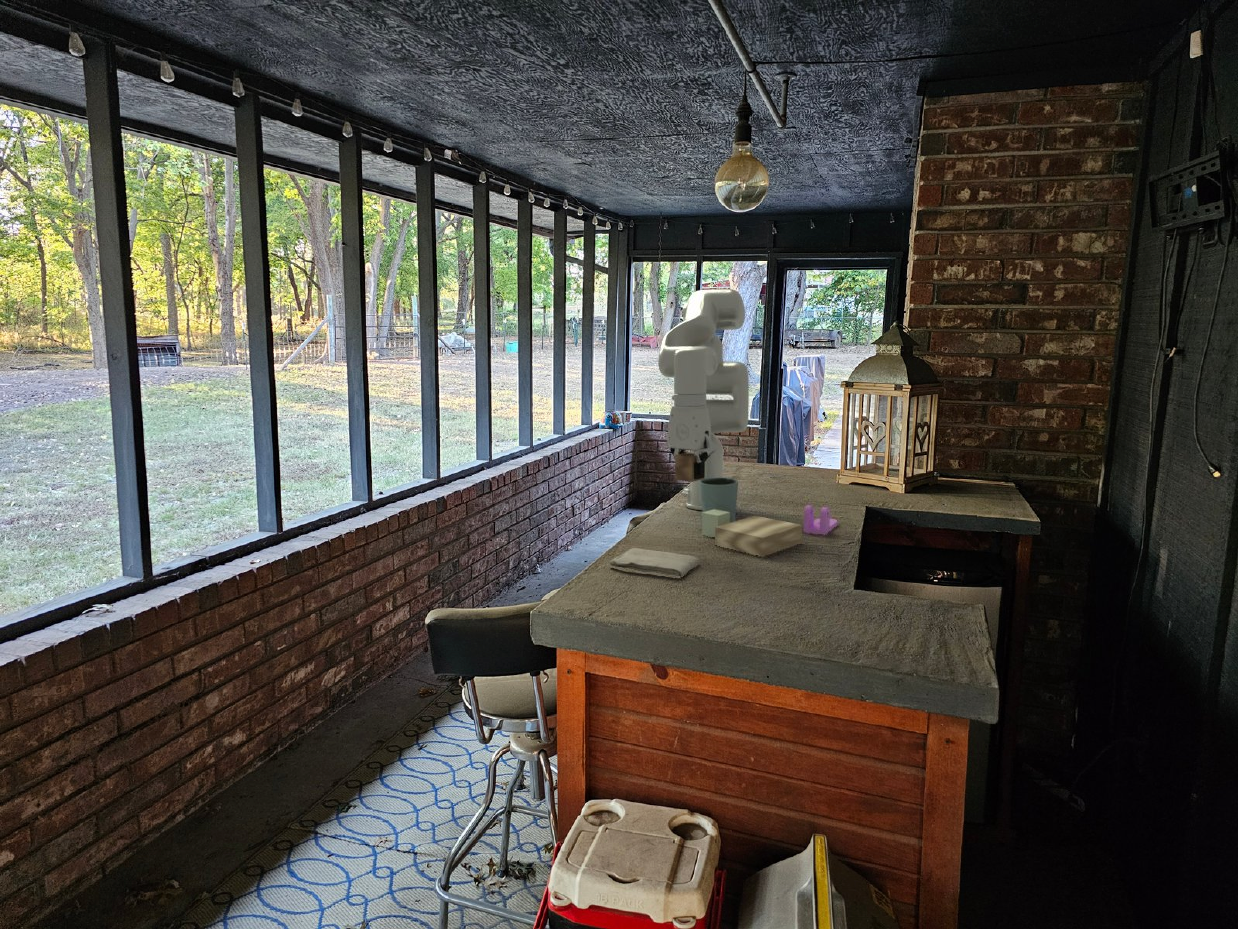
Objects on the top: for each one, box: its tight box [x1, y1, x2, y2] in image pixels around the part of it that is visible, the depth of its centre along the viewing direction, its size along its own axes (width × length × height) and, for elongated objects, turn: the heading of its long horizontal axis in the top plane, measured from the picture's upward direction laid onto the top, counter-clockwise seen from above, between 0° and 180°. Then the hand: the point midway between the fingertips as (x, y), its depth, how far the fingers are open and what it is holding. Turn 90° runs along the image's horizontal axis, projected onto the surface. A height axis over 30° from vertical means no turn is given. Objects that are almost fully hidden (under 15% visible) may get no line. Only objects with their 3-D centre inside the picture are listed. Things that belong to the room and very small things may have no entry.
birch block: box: [714, 515, 803, 558], centre depth 189 cm, size 14×16×5 cm
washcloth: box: [608, 547, 700, 577], centre depth 172 cm, size 12×18×3 cm, turn 64°
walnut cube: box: [674, 451, 705, 483], centre depth 185 cm, size 5×5×6 cm
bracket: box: [803, 504, 838, 536], centre depth 203 cm, size 13×6×7 cm, turn 149°
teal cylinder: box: [700, 476, 739, 523], centre depth 207 cm, size 10×10×12 cm
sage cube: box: [701, 509, 730, 538], centre depth 197 cm, size 5×5×6 cm
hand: (690, 476), depth 185 cm, fingers closed on walnut cube, 5 cm apart
